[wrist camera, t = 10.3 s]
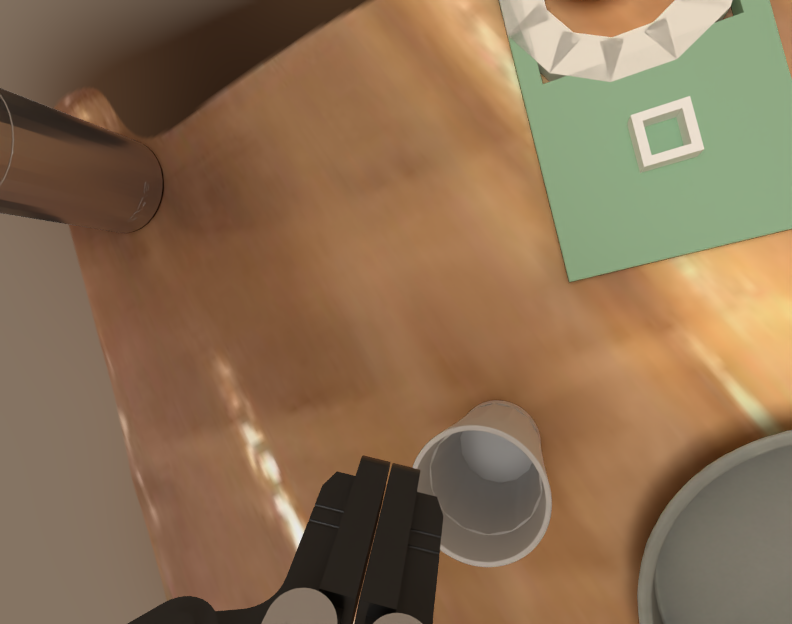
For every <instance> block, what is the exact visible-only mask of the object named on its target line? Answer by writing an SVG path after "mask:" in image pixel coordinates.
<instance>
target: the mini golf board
mask: <svg viewBox="0 0 792 624" xmlns="http://www.w3.org/2000/svg"><path fill="white" fill-rule="evenodd" d="M499 4H500V8H501V12H502V16H503V20H504V24H505V28H506V32H507V36H508V40H509V44H510V48H511V52H512V56H513V60H514V64H515V68H516V72H517V76H518V80H519V84H520V88H521V92H522V96H523V100H524V104H525V108H526V112H527V116H528V120H529V124H530V128H531V132H532V136H533V140H534V144H535V148H536V152H537V156H538V160H539V164H540V168H541V172H542V176H543V180H544V184H545V188H546V192H547V196H548V200H549V204H550V208H551V212H552V216H553V220H554V224H555V228H556V232H557V236H558V240H559V244H560V248H561V252H562V256H563V260H564V264H565V268H566V272H567V276H568V280H569V282H574V281H578V280H582V279H586V278H590V277H594V276H599V275H603V274H607V273H611V272H615V271H619V270H624V269H628V268H632V267H636V266H640V265H644V264H649V263H653V262H657V261H661V260H665V259H669V258H674V257H678V256H682V255H686V254H690V253H694V252H699V251H703V250H707V249H711V248H715V247H719V246H724V245H728V244H732V243H736V242H740V241H744V240H748V239H753V238H757V237H761V236H765V235H769V234H773V233H778V232H782V231H786V230H790V229H792V79H791V75H790V72H789V68H788V65H787V61H786V58H785V54H784V50H783V47H782V43H781V40H780V36H779V33H778V29H777V26H776V22H775V18H774V15H773V11H772V8H771V4H770V1H769V0H675V1H674V2H673V3H672V4H671V5H670V6H669V7H668V8H667V9H666V10H665V11H664V12H663V13H662V14H661V15H660V16H659V17H658V18H657V19H656V20H655V21H654V22H652V23H650V24H647V25H644V26H642V27H639V28H636V29H634V30H631V31H628V32H625V33H623V34H620V35H617V36H615V37H604V36H597V35H589V34H581V33H573V32H572V31H571V30H570V29H569V28H568V27H566V26H565V25H564V24H563V23H562V22H560V21H559V20H558V19H557V18H556V17H555V16H553V15H552V14H551V13H550V12H549V11H548V10H547V9H546V5H545V1H544V0H499ZM730 6H731V8H732V12H733V16H732V17H729V18H727V19H724V20H723V18H724V17H725V15H726V13H727V12H728V10H729V8H730ZM540 73H541V74H542V75H543V76H544V77H545V78H546V79H547V80H549V81H550V82H548V83H545V84H543V83H542V79H541V76H540Z"/></svg>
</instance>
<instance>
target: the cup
mask: <svg viewBox="0 0 792 624" xmlns="http://www.w3.org/2000/svg"><path fill="white" fill-rule="evenodd" d="M412 468H415V469H419V470H420V477H419V483H418V489H417V492H420V493H424V494H428V495H432V496H436V497H437V498H438V501H439V504H440V507H441V510H442V513H443V526H442V535H441V545H440V550H441V551H442V552H444V553H445V554H447V555H448V556H450V557H452V558H454V559H456V560H458V561H460V562H463V563H466V564H469V565H473V566H479V567H498V566H503V565H507V564H510V563H513V562H516V561H518V560H520V559H521V558H523V557H525V556H526V555H527V554H529V553H530V552H531V551H532V550H533V549H534V548H535V547H536V546H537V545H538V544H539V542H540V541H541V539H542V538H543V536H544V534H545V532H546V530H547V528H548V525H549V522H550V517H551V511H552V497H551V490H550V486H549V482H548V478H547V473H546V469H545V466H544V461H543V456H542V451H541V438H540V433H539V430H538V427H537V425H536V423H535V422H534V420H533V419H532V417H531V416H530V415H529V414H528V413H527V412H526V411H525V410H524V409H522V408H521V407H519V406H517V405H515V404H513V403H510V402H507V401H501V400H493V401H487V402H484V403H481V404H479V405H477V406H476V407H474V408H473V409H472V410H471V411H470V412H469V413H468V414H467V415H466V416H465V417H464V418H462V419H461V420H459V421H458V422H457V423H455V424H454V425H452V426H450V427H449V428H447V429H446V430H444V431H443V432H441V433H440V434H438V435H437V436H435V437H434V438H432V439H431V440H430V441H429V442H428V443H427V444H426V445H425V446H424V447H423V448H422V450H421V451H420V453H419V454H418V456H417V458H416V460H415V462H414V464H413V467H412Z"/></svg>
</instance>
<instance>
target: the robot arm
mask: <svg viewBox="0 0 792 624" xmlns="http://www.w3.org/2000/svg"><path fill="white" fill-rule="evenodd" d="M162 189H163V179H162V173H161V168H160V166H159V163H158V160H157V159H156V157H155V155H154V154H153V153H152V151H151V150H150V149H149V148H148V147H146V146H145V145H143V144H142V143H140V142H137V141H135V140H132V139H130V138H127V137H124V136H122V135H119V134H117V133H114V132H112V131H109V130H107V129H104V128H102V127H99V126H97V125H94V124H91V123H89V122H86V121H84V120H81V119H79V118H76V117H74V116H71V115H68V114H66V113H63V112H61V111H58V110H56V109H53V108H50V107H48V106H45V105H43V104H40V103H38V102H35V101H32V100H30V99H27V98H25V97H22V96H20V95H17V94H14V93H12V92H9V91H7V90H4V89H2V88H0V213H3V214H9V215H15V216H21V217H28V218H33V219H39V220H45V221H52V222H58V223H64V224H70V225H76V226H82V227H87V228H94V229H100V230H106V231H113V232H120V233H128V232H133V231H135V230H138V229H140V228H141V227H143V226H144V225H145V224H147V223H148V221H149V220H150V219H151V218H152V217H153V215H154V213H155V212H156V210H157V208H158V205H159V203H160V200H161V195H162ZM389 467H390V462H388V461H383V460H379V459H375V458H371V457H367V456H362V458H361V461H360V464H359V467H358V470H357V473H356V476H353V475H349V474H345V473H341V472H336V473H335V474H334V475H333V476H332V477H331V478H330V479H329V480H328V481H327V482H326V483H325V484H323V486H322V488H321V491H320V493H319V496H318V498H317V501H316V503H315V507H314V508H313V511H312V514H311V516H310V519H309V522H308V524H307V526H306V529H305V531H304V534H303V536H302V539H301V541H300V544H299V546H298V549H297V552H296V554H295V557H294V559H293V562H292V564H291V567H290V569H289V572H288V574H287V577H286V579H285V581H284V583H283V585H282V586H281V588H280V589H279V590H278V591H277V593H276V594H275V595H274V596H272V597H271V598H270V599H269V600H267V601H265V602H264V603H262V604H260V605H257V606H255V607H251V608H247V609H239V610H226V611H215V610H214V609H213V608H212V606H211V605H210V604H209V603H208V602H206V601H204V600H203V599H200V598H197V597H191V596H183V597H178V598H174V599H171V600H169V601H167V602H165V603H163V604H161V605H159V606H157V607H156V608H154V609H152V610H151V611H149V612H147V613H145V614H144V615H142V616H140V617H139V618H137V619H135V620H133V621H131V622H130V623H128V624H353V621H354V617H355V612H356V608H357V604H358V600H359V604H358V609H357V614H356V619H355V623H354V624H433V611H434V602H435V592H436V583H437V573H438V564H439V553H440V545H441V535H442V526H443V513H442V510H441V507H440V504H439V501H438V498H437V497H436V496H432V495H428V494H424V493H420V492H417V489H418V483H419V477H420V470H419V469H415V468H411V467H407V466H403V465H399V464H395V463H393V464H392V468H391V472H390V476H389V480H388V484H387V488H386V493H385V497H384V501H383V505H382V500H383V496H384V491H385V486H386V481H387V477H388V472H389ZM381 505H382V509H381ZM380 510H381V513H380ZM379 514H380V517H379ZM378 518H379V521H378ZM377 523H378V525H377ZM376 527H377V529H376ZM375 531H376V534H375ZM374 535H375V538H374ZM373 539H374V542H373ZM372 543H373V546H372ZM371 547H372V550H371ZM370 551H371V554H370ZM369 555H370V558H369ZM368 559H369V562H368ZM367 564H368V566H367ZM366 568H367V571H366ZM365 572H366V575H365ZM364 576H365V579H364ZM363 580H364V583H363ZM362 584H363V587H362ZM361 588H362V591H361ZM360 592H361V595H360ZM359 596H360V599H359Z"/></svg>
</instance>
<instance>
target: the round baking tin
mask: <svg viewBox="0 0 792 624" xmlns="http://www.w3.org/2000/svg"><path fill="white" fill-rule="evenodd" d="M637 598H638V616H639V624H792V430H789V431H784V432H781V433H778V434H774V435H771V436H767V437H764V438H761V439H759V440H756V441H753V442H751V443H748V444H746V445H744V446H742V447H739V448H737V449H735V450H733V451H732V452H730V453H727V454H725V455H724V456H722V457H720V458H718V459H717V460H715V461H713V462H712V463H710V464H709V465H707V466H706V467H705V468H704V469H702V470H701V471H700V472H699V473H697V474H696V475H695V476H694V477H692V478H691V479H690V480H689V481H688V482H687V483H686V484H685V485H684V486H683V487H682V488H681V490H680V491H679V492H678V493H677V494H676V495H675V496H674V497H673V499H672V500H671V501H670V502H669V503H668V505H667V506H666V508H665V509H664V511H663V512H662V513H661V515H660V517H659V519H658V521H657V523H656V525H655V526H654V528H653V530H652V532H651V534H650V537H649V539H648V541H647V544H646V547H645V551H644V554H643V558H642V562H641V566H640V572H639V581H638V594H637Z"/></svg>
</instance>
